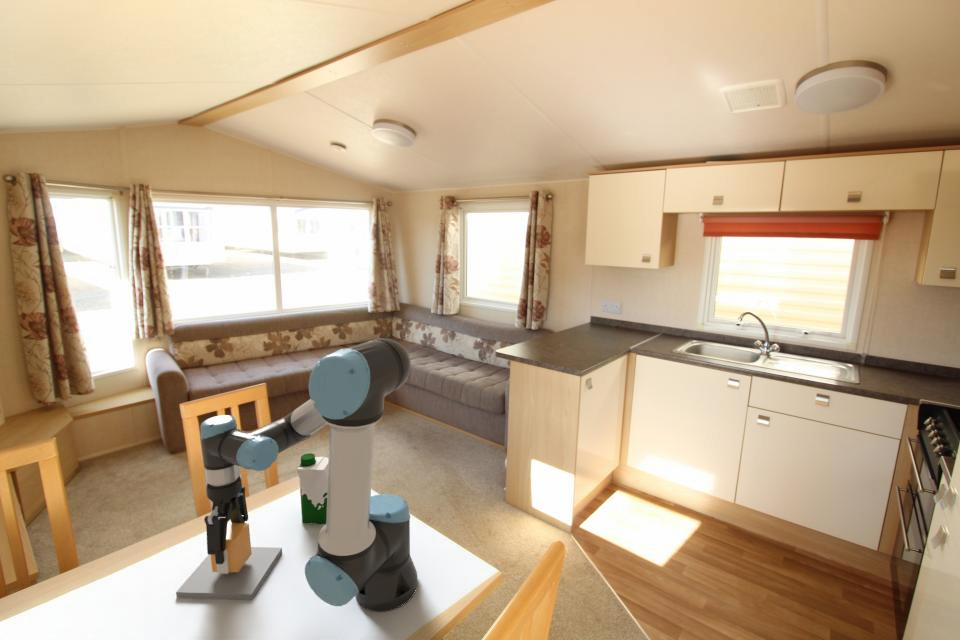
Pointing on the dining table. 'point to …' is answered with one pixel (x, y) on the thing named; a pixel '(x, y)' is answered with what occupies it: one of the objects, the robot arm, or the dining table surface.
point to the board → (231, 577)
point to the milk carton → (313, 488)
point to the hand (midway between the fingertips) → (231, 561)
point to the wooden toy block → (236, 546)
